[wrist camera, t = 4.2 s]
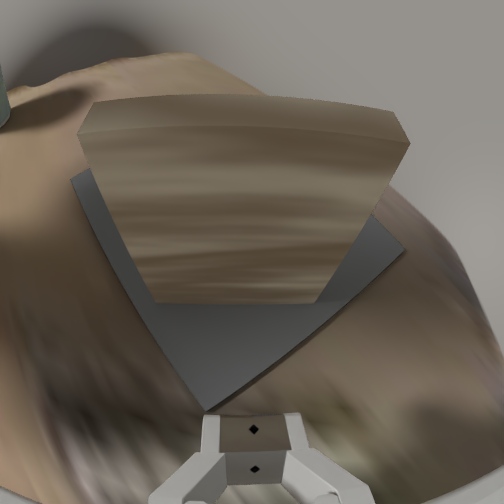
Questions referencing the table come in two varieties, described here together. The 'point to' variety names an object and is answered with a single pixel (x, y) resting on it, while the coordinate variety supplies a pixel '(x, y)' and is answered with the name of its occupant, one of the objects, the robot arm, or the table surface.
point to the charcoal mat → (233, 309)
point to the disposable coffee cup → (3, 102)
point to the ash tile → (239, 190)
